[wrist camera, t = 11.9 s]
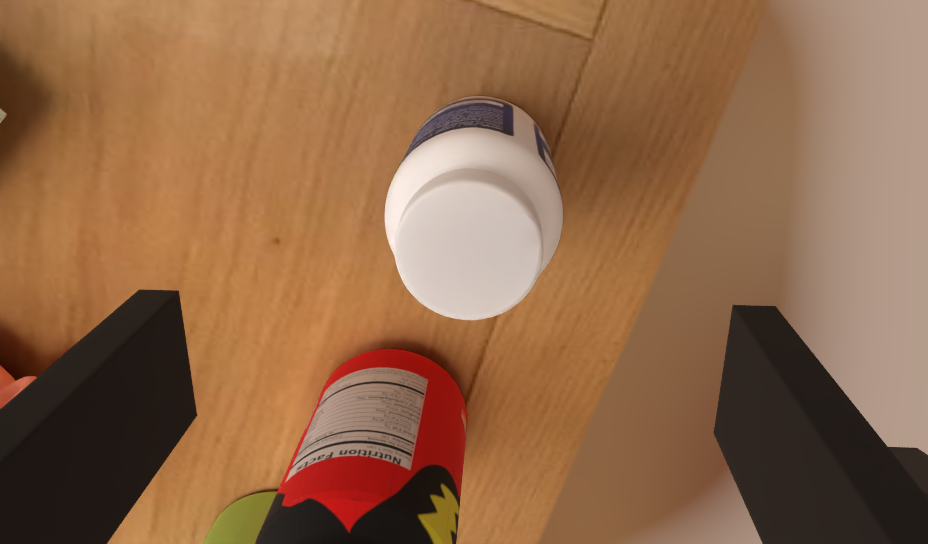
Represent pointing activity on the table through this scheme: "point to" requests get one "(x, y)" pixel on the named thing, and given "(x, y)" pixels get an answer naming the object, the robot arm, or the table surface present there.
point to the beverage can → (376, 458)
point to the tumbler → (241, 520)
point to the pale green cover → (2, 115)
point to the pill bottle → (474, 209)
